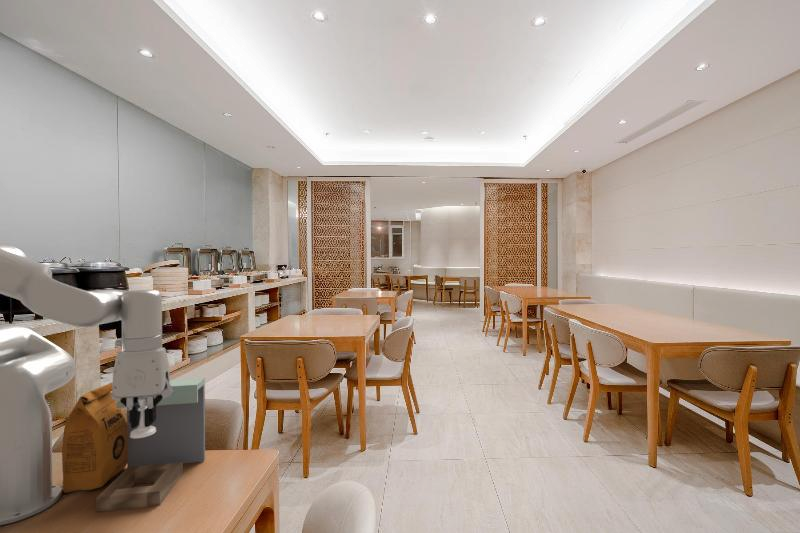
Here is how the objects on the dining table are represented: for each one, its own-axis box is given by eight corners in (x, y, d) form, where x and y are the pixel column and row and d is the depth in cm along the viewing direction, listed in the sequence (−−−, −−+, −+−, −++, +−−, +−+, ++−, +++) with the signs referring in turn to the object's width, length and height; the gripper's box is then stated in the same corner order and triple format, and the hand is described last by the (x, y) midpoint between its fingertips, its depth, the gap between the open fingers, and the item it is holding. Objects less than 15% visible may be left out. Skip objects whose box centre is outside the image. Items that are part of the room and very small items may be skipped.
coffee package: (136, 464, 95) (136, 379, 95) (100, 494, 82) (99, 396, 82) (96, 466, 94) (95, 380, 94) (53, 496, 82) (53, 397, 82)
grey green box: (117, 478, 88) (116, 389, 89) (129, 466, 94) (129, 382, 94) (197, 470, 92) (196, 384, 92) (205, 459, 97) (204, 378, 97)
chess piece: (142, 439, 80) (142, 393, 80) (124, 437, 81) (124, 392, 81) (161, 429, 85) (161, 386, 85) (143, 428, 86) (143, 385, 86)
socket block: (96, 512, 76) (96, 497, 76) (128, 479, 88) (128, 467, 88) (159, 505, 78) (159, 491, 78) (182, 474, 90) (182, 462, 90)
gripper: (92, 349, 78) (92, 435, 78) (173, 345, 81) (174, 429, 81) (113, 342, 86) (113, 421, 86) (187, 339, 88) (187, 415, 88)
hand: (143, 424), depth 83 cm, fingers closed on chess piece
